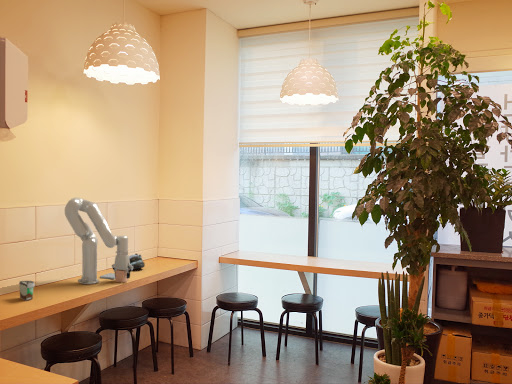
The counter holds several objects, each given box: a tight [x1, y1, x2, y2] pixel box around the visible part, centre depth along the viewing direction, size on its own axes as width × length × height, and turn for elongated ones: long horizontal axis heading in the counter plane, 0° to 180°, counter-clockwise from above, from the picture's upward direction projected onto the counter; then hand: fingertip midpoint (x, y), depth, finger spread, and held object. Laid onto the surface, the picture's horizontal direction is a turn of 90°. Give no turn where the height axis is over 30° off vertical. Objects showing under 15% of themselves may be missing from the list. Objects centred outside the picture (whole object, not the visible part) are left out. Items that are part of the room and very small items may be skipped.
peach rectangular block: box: [114, 270, 130, 283], centre depth 329 cm, size 6×6×8 cm
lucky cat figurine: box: [129, 253, 146, 271], centre depth 369 cm, size 15×12×14 cm
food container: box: [18, 280, 36, 302], centre depth 279 cm, size 12×6×10 cm, turn 48°
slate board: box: [99, 272, 115, 280], centre depth 341 cm, size 12×12×1 cm
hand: (122, 277), depth 329 cm, fingers open, 9 cm apart
